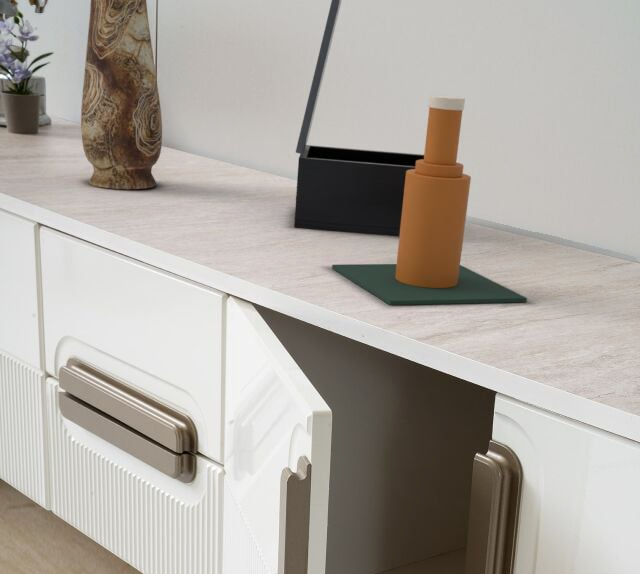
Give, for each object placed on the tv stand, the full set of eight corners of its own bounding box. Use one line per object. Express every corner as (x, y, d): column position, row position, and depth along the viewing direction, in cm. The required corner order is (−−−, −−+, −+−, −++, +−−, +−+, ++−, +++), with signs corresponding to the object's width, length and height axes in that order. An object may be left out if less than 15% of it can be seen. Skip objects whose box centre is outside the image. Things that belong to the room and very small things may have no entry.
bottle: (440, 272, 111) (461, 94, 105) (468, 287, 106) (492, 101, 100) (385, 273, 109) (403, 91, 103) (411, 288, 104) (432, 98, 98)
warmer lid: (341, 0, 132) (334, -2, 132) (340, 0, 120) (332, -3, 120) (307, 141, 138) (300, 139, 138) (302, 154, 126) (295, 152, 126)
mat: (456, 267, 116) (457, 263, 116) (526, 302, 105) (527, 297, 104) (331, 268, 111) (332, 264, 111) (390, 305, 100) (390, 300, 99)
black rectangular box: (423, 219, 141) (430, 155, 138) (428, 238, 130) (436, 169, 127) (299, 208, 141) (303, 144, 138) (294, 227, 130) (298, 157, 127)
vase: (170, 191, 146) (175, -65, 134) (88, 190, 142) (86, -73, 130) (149, 178, 154) (153, -63, 143) (71, 177, 150) (68, -72, 139)
